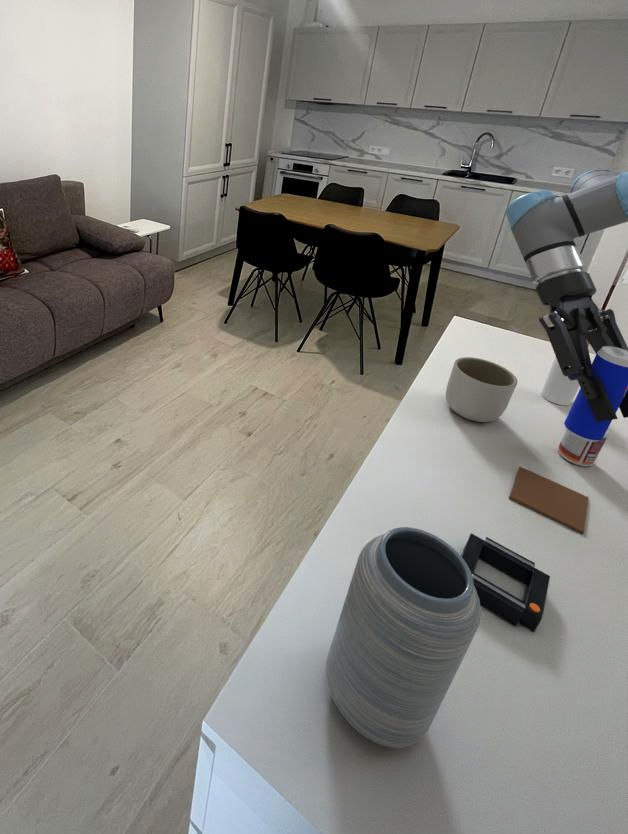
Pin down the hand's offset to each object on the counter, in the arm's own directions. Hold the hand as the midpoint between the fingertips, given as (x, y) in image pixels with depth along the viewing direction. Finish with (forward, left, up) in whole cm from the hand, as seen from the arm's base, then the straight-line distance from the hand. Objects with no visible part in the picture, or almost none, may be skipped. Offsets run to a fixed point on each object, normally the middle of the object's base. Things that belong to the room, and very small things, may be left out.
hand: (620, 418), depth 76 cm
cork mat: (+3, -7, -23) cm, 24 cm away
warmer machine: (+6, +21, -23) cm, 32 cm away
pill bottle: (0, -25, -23) cm, 34 cm away
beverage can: (+3, -2, -6) cm, 7 cm away
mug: (+6, -51, -23) cm, 57 cm away
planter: (+20, -26, -23) cm, 40 cm away
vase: (+14, +49, -23) cm, 56 cm away
